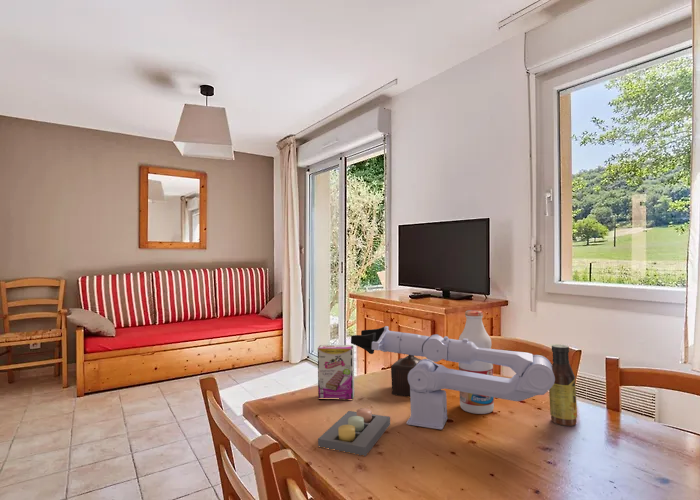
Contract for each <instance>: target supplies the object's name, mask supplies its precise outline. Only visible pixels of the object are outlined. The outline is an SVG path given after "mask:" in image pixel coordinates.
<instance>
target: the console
mask: <svg viewBox="0 0 700 500" xmlns="http://www.w3.org/2000/svg"><path fill="white" fill-rule="evenodd" d="M352 416H357V411H352V410H348V411H347V412H346V413H345V414H343V415H342V417H340V418H339V419H338V420H337V421H336V422H334V424H333V425H331V427H329V428H328V429H327V430H326V431H324V432H323V434H322V435H320V437H318V439H317V447H318V446H320V447H325V448H329V449H328V450H330V449H335V450H339V451H338V452H340V451H345V452H350V453H355V454H354V455H356V454H359V455H358V456H361V455H364V456H363V457H366V456H367V455H368V454H369V452H371V450H372V449H373V447H374V446H375V445H376V443H377V442H378V441H379V440H380V438H381V437H382V435H383V434H384V433H385V432H386V431H387V429H388V428H389V427H390V425H391V416H387V415H380V414H373V413H372V421H371V422H369V423H364V430H363V431H361V432H355V440H354V441H352V442H345V441H340V440H339V432H338V428H339V427H340V426H342V425H348V418H349V417H352ZM335 450H334V451H335ZM345 452H344V453H345ZM350 453H349V454H350ZM367 453H368V454H367Z"/></svg>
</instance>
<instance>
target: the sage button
mask: <svg viewBox="0 0 700 500" xmlns="http://www.w3.org/2000/svg"><path fill="white" fill-rule="evenodd" d="M348 425H352V426H354V427H355V432H360V433H362V431H363V430H364V418H363V417H361V416H352V417H349V418H348Z"/></svg>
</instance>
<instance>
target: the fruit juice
mask: <svg viewBox="0 0 700 500" xmlns="http://www.w3.org/2000/svg"><path fill="white" fill-rule="evenodd" d="M464 315H465V318H466V319H465V320H466V321H465V325H464V328H463V330H462V332H461V334H460V335H459V337H458V340H463V338H466V339H468V341H470V342H473V343H474V344H475V345H476V346H477V347H478V348H487V349H492V338H491V337H490V335H489V334H488V331H487V330H486V328H485V325H484V323H483V318H484V312H483V311H482V310H477V309H475V310H474V309H473V310H472V309H471V310H466V311H465V314H464ZM458 370H461V371H467V372H473V373H479V374H485V375H492V376H494V364H491V363H486V362H482V361H475V362H474V363H472V364H464V363H458ZM494 398H495V397H489V396H484V395H478V394H473V393H467V392H462V391H459V406H460V408H461V410H463V411H465V412H467V413H470V414H476V415H486V414H490V413H492V412H493V411H494V409H495V407H494V406H495V402H494V400H495V399H494Z"/></svg>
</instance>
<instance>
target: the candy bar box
mask: <svg viewBox="0 0 700 500" xmlns="http://www.w3.org/2000/svg"><path fill="white" fill-rule="evenodd" d="M354 347H355V345H354V344H320V345H319V346H318V347H317V388H318V389H317V392H318V393H317V395H318V396H317V398H339V399H353V400H354V398H355V397H354V396H355V367H354V366H355V362H354V361H355V359H354V357H355V355H354V354H355V353H354V352H355V351H354Z"/></svg>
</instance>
